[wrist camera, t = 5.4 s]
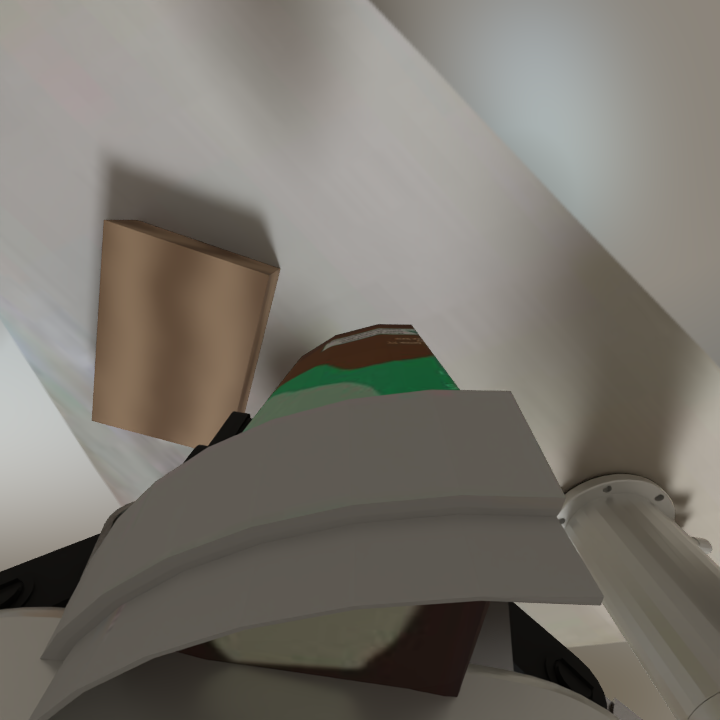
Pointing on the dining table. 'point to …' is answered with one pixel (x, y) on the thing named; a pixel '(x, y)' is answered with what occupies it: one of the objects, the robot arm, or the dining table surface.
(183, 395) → the brown flat block
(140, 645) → the food container
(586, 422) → the dining table surface
